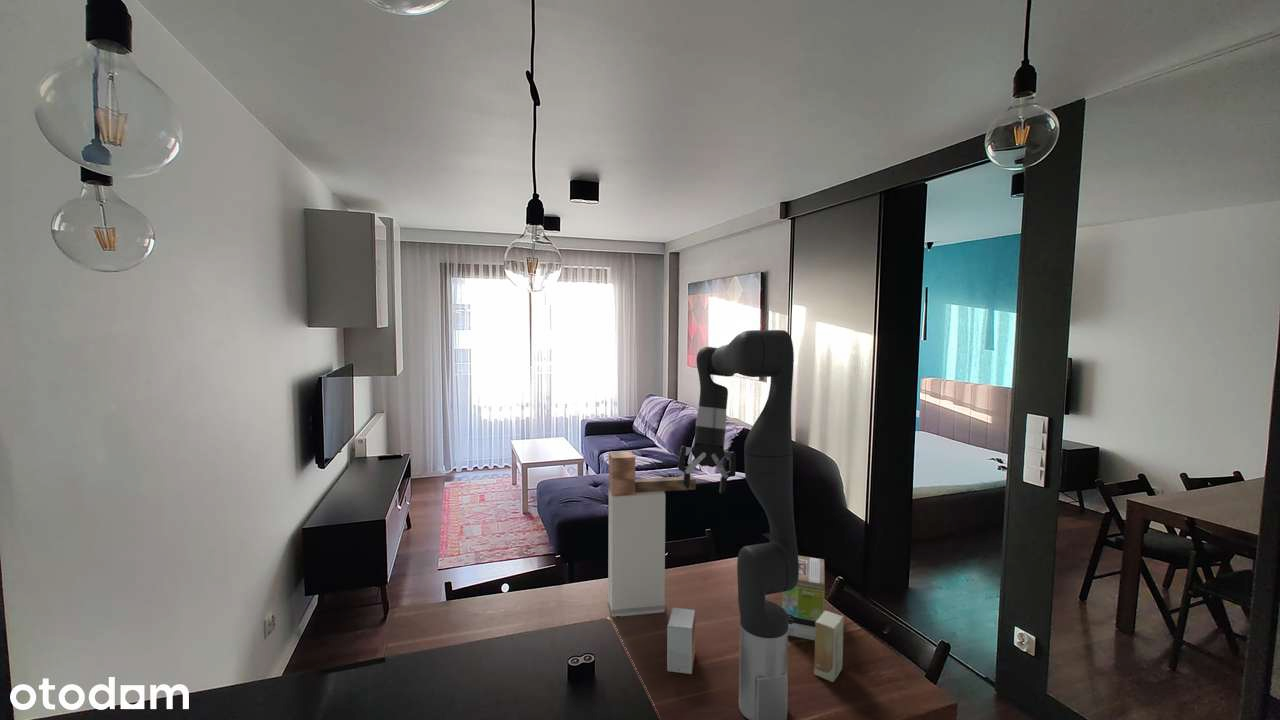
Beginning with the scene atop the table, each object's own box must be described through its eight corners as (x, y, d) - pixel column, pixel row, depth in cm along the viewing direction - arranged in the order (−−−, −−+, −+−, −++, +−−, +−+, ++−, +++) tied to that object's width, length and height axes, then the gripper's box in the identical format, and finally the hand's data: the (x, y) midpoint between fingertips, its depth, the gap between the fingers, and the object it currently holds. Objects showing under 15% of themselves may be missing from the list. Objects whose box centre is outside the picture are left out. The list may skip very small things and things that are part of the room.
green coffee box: (823, 643, 127) (825, 583, 126) (780, 635, 130) (781, 576, 129) (823, 611, 141) (824, 557, 140) (784, 604, 144) (785, 552, 143)
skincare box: (823, 660, 120) (825, 608, 119) (843, 668, 117) (844, 615, 116) (812, 675, 115) (814, 621, 114) (832, 683, 112) (834, 628, 111)
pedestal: (658, 596, 148) (659, 484, 146) (665, 612, 140) (666, 494, 138) (607, 601, 145) (607, 487, 143) (611, 617, 137) (611, 497, 135)
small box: (691, 675, 115) (692, 628, 114) (666, 671, 116) (666, 625, 115) (695, 653, 122) (696, 609, 122) (671, 650, 124) (672, 606, 123)
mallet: (690, 484, 147) (690, 448, 146) (697, 491, 140) (698, 454, 139) (608, 488, 143) (608, 451, 142) (612, 496, 136) (612, 458, 135)
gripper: (683, 423, 129) (676, 489, 128) (741, 429, 129) (735, 496, 128) (681, 422, 137) (675, 485, 135) (736, 428, 137) (730, 491, 135)
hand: (704, 490), depth 132 cm, fingers open, 8 cm apart
